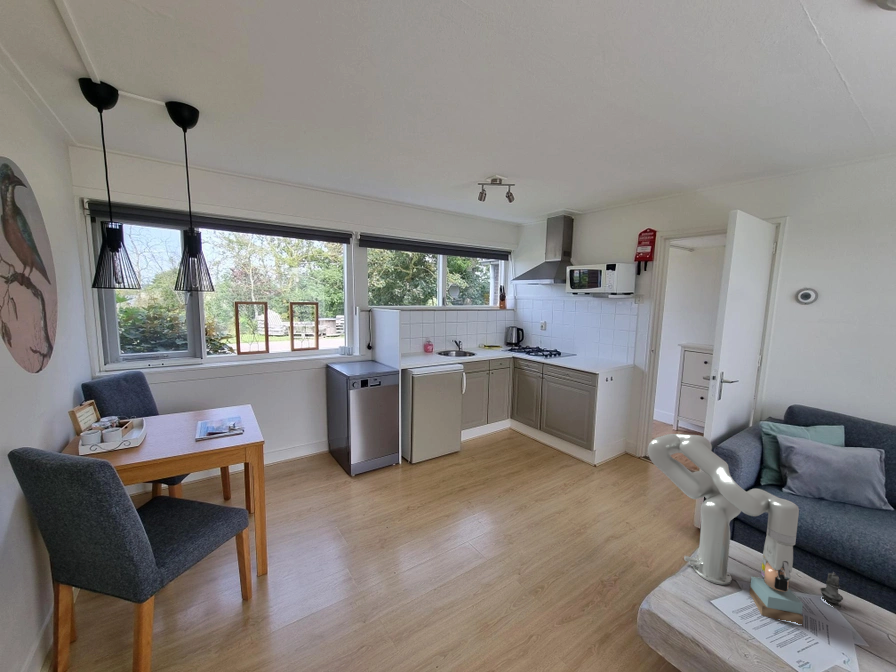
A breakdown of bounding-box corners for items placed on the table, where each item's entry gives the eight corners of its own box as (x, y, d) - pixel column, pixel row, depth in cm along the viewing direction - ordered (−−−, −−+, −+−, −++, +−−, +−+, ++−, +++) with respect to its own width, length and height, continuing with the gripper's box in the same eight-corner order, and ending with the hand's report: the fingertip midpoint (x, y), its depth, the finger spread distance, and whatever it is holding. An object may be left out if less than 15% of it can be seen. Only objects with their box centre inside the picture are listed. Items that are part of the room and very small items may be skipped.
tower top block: (767, 607, 124) (768, 596, 124) (750, 586, 134) (751, 576, 134) (801, 614, 122) (802, 603, 122) (782, 592, 132) (783, 582, 132)
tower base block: (761, 616, 125) (762, 605, 125) (749, 594, 136) (750, 584, 135) (802, 628, 121) (803, 617, 121) (786, 604, 131) (787, 593, 131)
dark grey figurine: (847, 610, 129) (850, 579, 128) (827, 607, 130) (831, 576, 129) (833, 598, 134) (836, 567, 134) (814, 595, 136) (818, 565, 135)
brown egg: (768, 587, 126) (769, 571, 126) (760, 575, 132) (762, 560, 132) (791, 594, 124) (793, 577, 124) (783, 581, 130) (784, 566, 129)
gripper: (758, 519, 136) (753, 564, 137) (778, 546, 120) (773, 596, 122) (783, 524, 133) (778, 570, 134) (807, 552, 117) (801, 604, 119)
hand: (775, 582), depth 128 cm, fingers closed on brown egg, 6 cm apart
